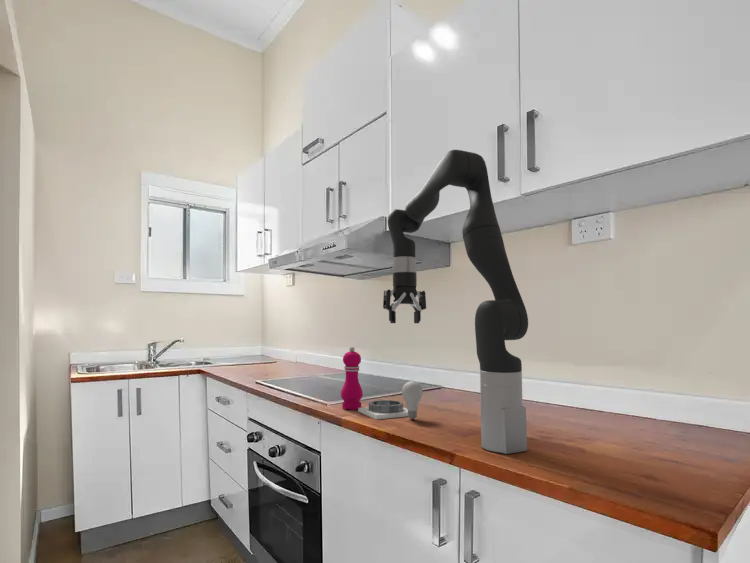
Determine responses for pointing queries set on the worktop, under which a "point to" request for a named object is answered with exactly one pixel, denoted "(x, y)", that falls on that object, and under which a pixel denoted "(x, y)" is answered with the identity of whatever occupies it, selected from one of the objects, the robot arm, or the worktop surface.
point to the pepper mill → (351, 381)
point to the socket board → (382, 415)
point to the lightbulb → (412, 397)
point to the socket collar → (385, 406)
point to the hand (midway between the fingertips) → (405, 323)
